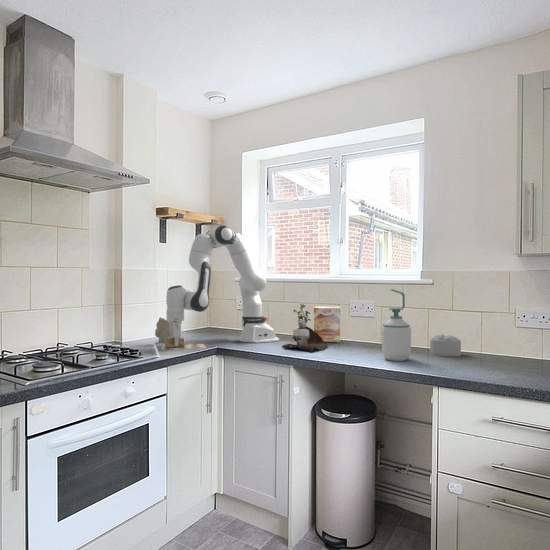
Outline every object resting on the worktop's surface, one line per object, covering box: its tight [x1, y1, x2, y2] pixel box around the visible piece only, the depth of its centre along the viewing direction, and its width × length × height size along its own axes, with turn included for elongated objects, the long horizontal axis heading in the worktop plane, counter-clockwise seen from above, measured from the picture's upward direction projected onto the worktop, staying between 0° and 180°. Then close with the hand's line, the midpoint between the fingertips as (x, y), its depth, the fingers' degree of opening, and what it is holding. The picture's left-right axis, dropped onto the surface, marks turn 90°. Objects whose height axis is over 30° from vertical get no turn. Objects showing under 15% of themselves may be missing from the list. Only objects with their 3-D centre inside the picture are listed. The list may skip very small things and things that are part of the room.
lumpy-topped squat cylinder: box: [429, 334, 462, 357], centre depth 199 cm, size 10×13×9 cm
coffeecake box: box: [313, 306, 342, 343], centre depth 242 cm, size 15×7×20 cm, turn 80°
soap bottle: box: [381, 288, 412, 362], centre depth 188 cm, size 12×12×31 cm
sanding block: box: [164, 336, 185, 348], centre depth 217 cm, size 9×5×4 cm, turn 109°
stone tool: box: [154, 316, 172, 343], centre depth 234 cm, size 11×4×15 cm, turn 77°
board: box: [160, 343, 207, 351], centre depth 218 cm, size 22×13×1 cm, turn 109°
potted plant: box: [281, 304, 329, 352], centre depth 221 cm, size 20×19×25 cm
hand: (175, 344), depth 217 cm, fingers open, 8 cm apart
